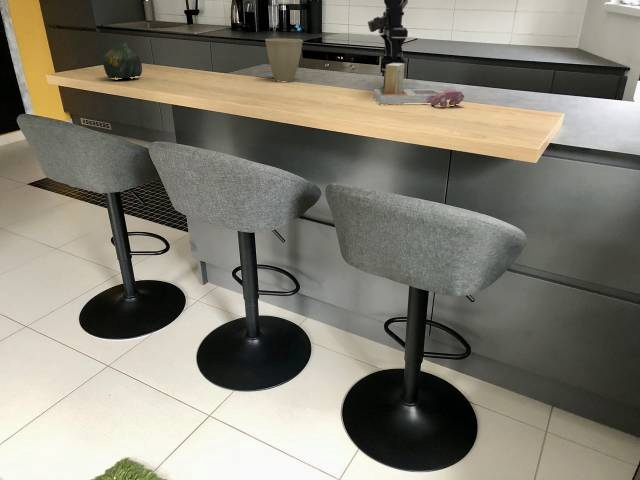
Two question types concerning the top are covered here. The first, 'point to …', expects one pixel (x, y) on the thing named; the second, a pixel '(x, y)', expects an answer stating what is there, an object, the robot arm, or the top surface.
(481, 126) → the top surface
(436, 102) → the video game controller
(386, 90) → the skincare box
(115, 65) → the squash
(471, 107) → the top surface
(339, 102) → the top surface
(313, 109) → the top surface
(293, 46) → the plant pot
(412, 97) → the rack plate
